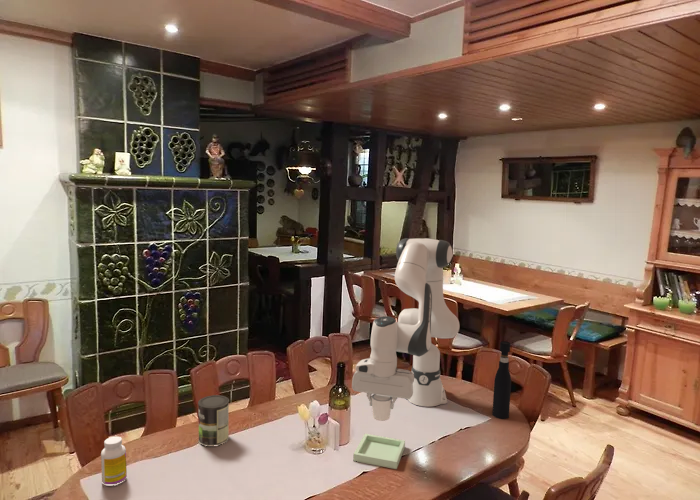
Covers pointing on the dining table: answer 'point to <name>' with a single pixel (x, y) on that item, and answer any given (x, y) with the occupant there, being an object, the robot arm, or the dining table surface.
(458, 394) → the dining table surface
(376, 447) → the tray
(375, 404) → the shot glass
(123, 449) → the supplement bottle
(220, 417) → the coffee can
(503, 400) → the wine bottle
